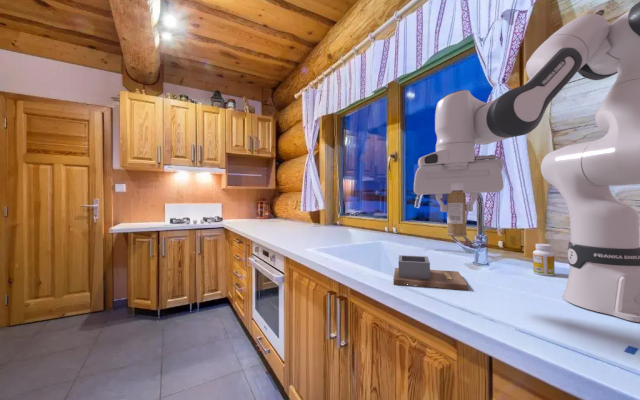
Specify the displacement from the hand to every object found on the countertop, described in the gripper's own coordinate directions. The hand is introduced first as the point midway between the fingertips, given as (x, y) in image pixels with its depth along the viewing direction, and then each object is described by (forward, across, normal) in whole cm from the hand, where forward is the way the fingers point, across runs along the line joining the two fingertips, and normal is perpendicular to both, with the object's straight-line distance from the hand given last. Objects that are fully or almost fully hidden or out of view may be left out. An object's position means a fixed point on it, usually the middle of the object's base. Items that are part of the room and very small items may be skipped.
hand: (456, 211), depth 68 cm
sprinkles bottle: (+6, 0, 0) cm, 6 cm away
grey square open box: (+21, +10, -15) cm, 28 cm away
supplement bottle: (+23, -31, -31) cm, 49 cm away
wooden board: (+22, +6, -15) cm, 28 cm away
